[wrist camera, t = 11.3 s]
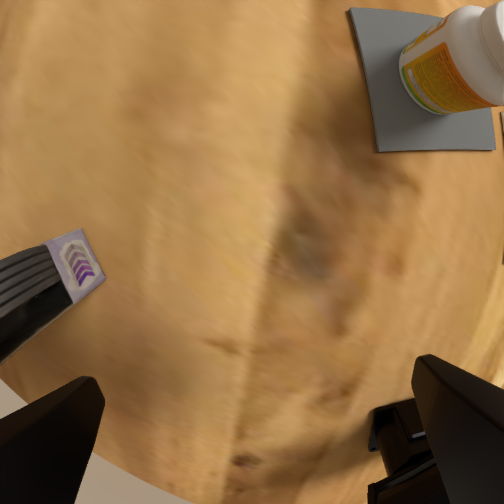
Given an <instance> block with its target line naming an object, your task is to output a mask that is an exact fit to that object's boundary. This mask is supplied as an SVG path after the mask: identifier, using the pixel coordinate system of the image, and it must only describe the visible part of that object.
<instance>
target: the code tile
mask: <svg viewBox="0 0 504 504" xmlns="http://www.w3.org/2000/svg"><path fill="white" fill-rule="evenodd" d="M501 116H502V123H503V131H504V112H501Z"/></svg>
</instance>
